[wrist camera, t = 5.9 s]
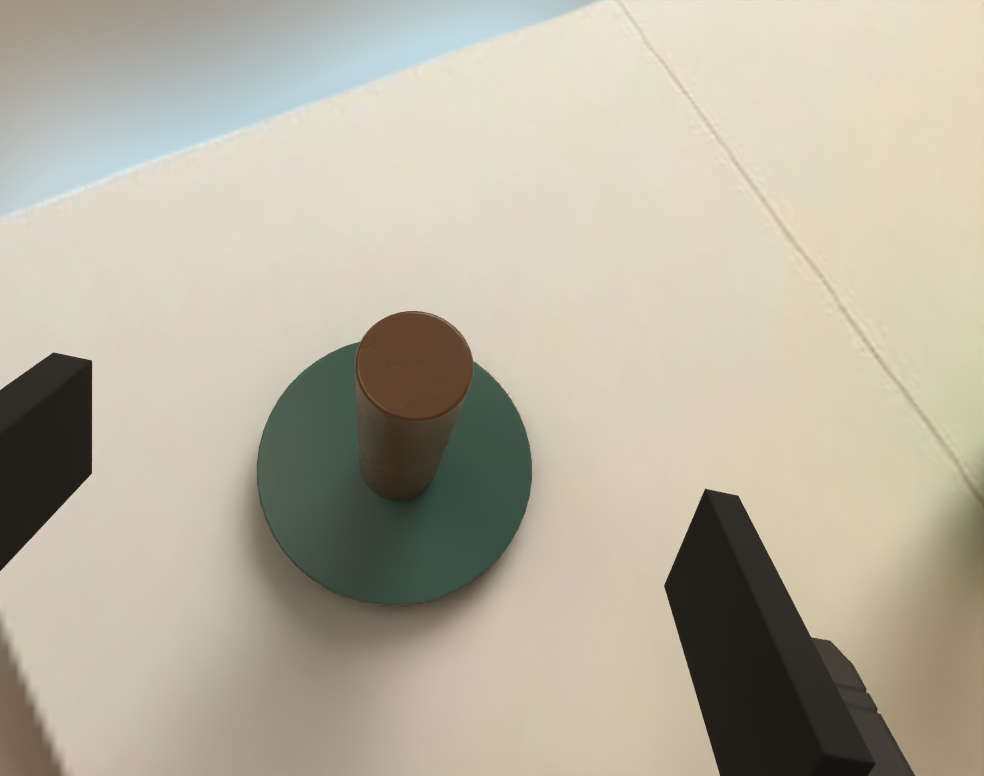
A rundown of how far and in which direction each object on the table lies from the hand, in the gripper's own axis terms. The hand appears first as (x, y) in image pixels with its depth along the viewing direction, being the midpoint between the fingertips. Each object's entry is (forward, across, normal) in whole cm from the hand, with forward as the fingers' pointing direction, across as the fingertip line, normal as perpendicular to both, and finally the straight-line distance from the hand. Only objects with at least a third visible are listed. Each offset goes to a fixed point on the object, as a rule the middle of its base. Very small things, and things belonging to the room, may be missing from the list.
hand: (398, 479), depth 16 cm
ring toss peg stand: (+7, 0, -4) cm, 8 cm away
